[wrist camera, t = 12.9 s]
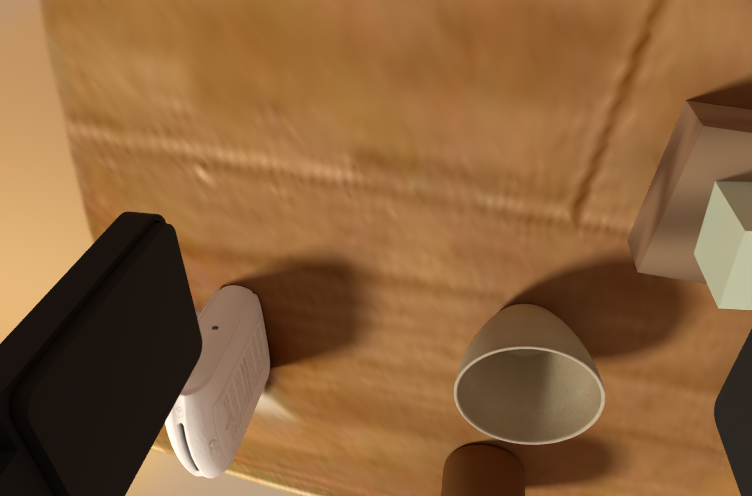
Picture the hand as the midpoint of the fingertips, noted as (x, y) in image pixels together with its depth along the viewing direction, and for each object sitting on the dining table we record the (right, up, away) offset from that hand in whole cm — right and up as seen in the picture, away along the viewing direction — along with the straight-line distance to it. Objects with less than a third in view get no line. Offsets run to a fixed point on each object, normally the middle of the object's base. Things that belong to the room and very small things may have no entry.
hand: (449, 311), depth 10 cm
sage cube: (+20, +3, +25) cm, 32 cm away
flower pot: (+10, -5, +37) cm, 39 cm away
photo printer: (-12, -6, +42) cm, 44 cm away
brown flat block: (+21, +5, +28) cm, 35 cm away
